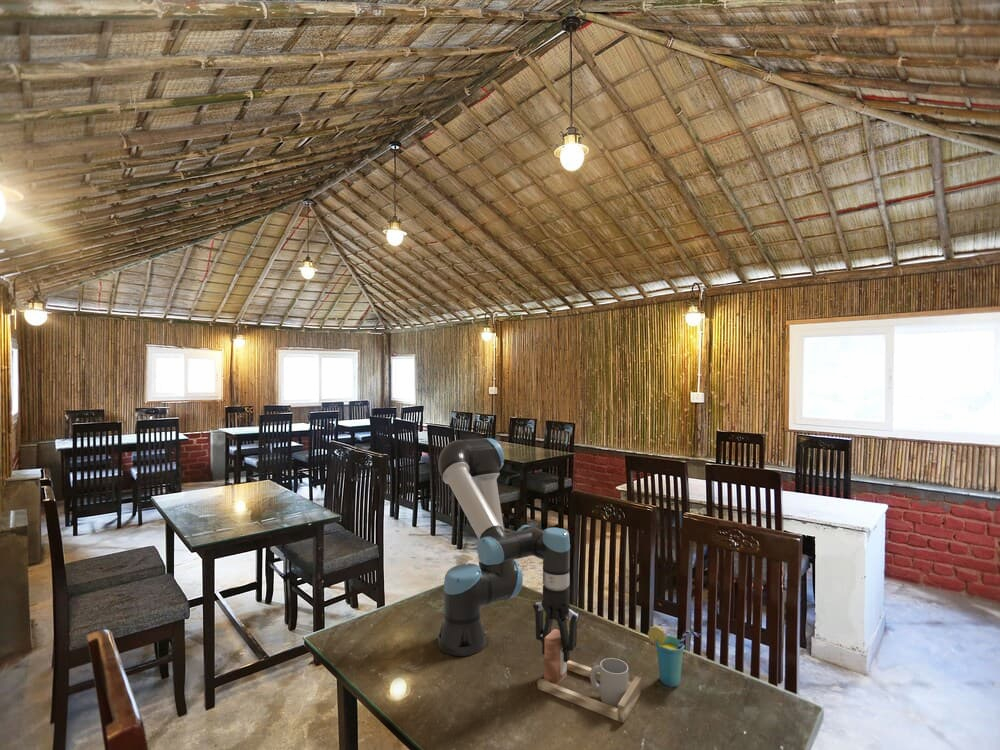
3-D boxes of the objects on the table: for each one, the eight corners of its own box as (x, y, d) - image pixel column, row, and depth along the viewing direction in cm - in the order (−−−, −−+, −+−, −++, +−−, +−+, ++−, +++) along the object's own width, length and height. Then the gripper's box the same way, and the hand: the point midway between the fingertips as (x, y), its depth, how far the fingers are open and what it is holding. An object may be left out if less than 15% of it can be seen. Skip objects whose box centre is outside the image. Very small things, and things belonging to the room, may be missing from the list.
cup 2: (699, 679, 137) (699, 625, 137) (701, 695, 130) (701, 639, 130) (647, 668, 142) (648, 617, 142) (646, 684, 135) (646, 629, 135)
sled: (537, 688, 132) (537, 644, 132) (560, 663, 144) (560, 622, 144) (623, 723, 119) (623, 673, 119) (641, 692, 131) (641, 647, 131)
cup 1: (624, 712, 123) (625, 677, 123) (586, 700, 127) (586, 666, 128) (630, 696, 130) (630, 662, 130) (593, 685, 134) (593, 652, 134)
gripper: (523, 583, 139) (522, 665, 139) (578, 597, 130) (578, 686, 129) (535, 574, 145) (535, 653, 145) (589, 588, 136) (589, 672, 135)
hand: (555, 669), depth 137 cm, fingers closed on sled, 4 cm apart
